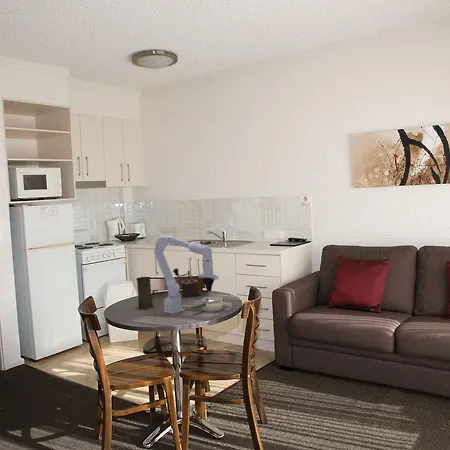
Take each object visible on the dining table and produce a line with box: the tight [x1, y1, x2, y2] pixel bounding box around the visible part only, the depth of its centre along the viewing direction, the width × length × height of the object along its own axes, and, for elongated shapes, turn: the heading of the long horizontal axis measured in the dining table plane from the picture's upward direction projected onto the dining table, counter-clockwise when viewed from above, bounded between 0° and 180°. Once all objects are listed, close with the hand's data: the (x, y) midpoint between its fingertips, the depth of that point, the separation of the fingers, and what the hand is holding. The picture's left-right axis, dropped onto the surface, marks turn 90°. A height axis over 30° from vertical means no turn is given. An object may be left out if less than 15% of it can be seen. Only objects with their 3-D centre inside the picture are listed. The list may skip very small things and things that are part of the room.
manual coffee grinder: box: [172, 267, 199, 299], centre depth 319 cm, size 16×11×18 cm
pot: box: [190, 298, 225, 313], centre depth 278 cm, size 23×12×5 cm, turn 135°
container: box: [135, 276, 154, 310], centre depth 294 cm, size 9×9×18 cm
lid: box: [200, 295, 224, 303], centre depth 280 cm, size 12×12×2 cm
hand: (209, 291), depth 281 cm, fingers closed
